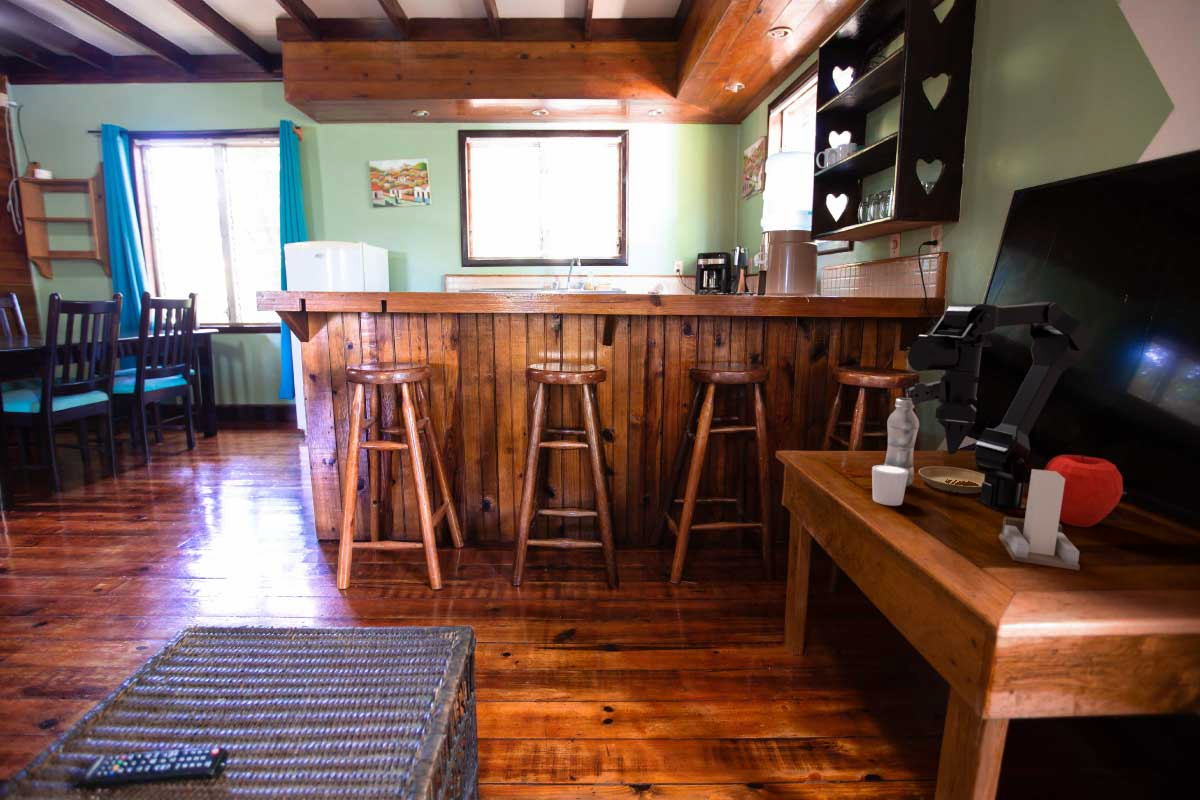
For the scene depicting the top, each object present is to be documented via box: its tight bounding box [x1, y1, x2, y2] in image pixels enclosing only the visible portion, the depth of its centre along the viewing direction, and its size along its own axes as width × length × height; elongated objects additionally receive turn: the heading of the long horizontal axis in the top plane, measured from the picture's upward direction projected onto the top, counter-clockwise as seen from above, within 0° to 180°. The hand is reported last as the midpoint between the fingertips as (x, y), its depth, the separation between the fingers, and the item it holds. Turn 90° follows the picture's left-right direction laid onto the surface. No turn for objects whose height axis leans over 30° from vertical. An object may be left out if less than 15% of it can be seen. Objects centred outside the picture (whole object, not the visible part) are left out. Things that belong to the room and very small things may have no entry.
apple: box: [1043, 454, 1124, 528], centre depth 108 cm, size 12×12×13 cm
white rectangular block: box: [1023, 468, 1065, 556], centre depth 95 cm, size 4×3×13 cm
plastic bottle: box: [883, 397, 920, 487], centre depth 130 cm, size 6×7×20 cm
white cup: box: [871, 464, 909, 507], centre depth 120 cm, size 7×7×7 cm
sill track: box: [998, 516, 1081, 571], centre depth 96 cm, size 10×9×4 cm
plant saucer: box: [918, 466, 985, 494], centre depth 131 cm, size 15×15×3 cm
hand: (952, 448), depth 112 cm, fingers open, 9 cm apart
